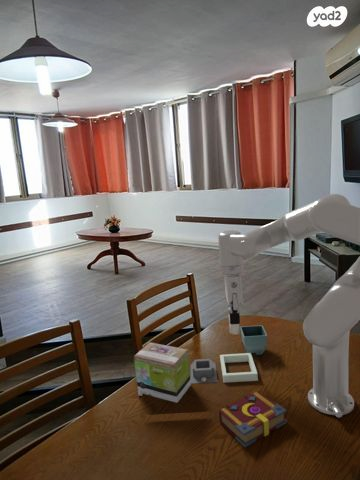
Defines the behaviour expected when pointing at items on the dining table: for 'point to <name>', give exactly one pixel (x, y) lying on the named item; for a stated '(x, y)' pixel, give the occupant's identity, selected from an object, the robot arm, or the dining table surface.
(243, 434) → the decorative book
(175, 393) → the tea box
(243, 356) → the parts tray
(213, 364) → the block
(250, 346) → the flower pot
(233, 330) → the cylinder
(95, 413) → the dining table surface
